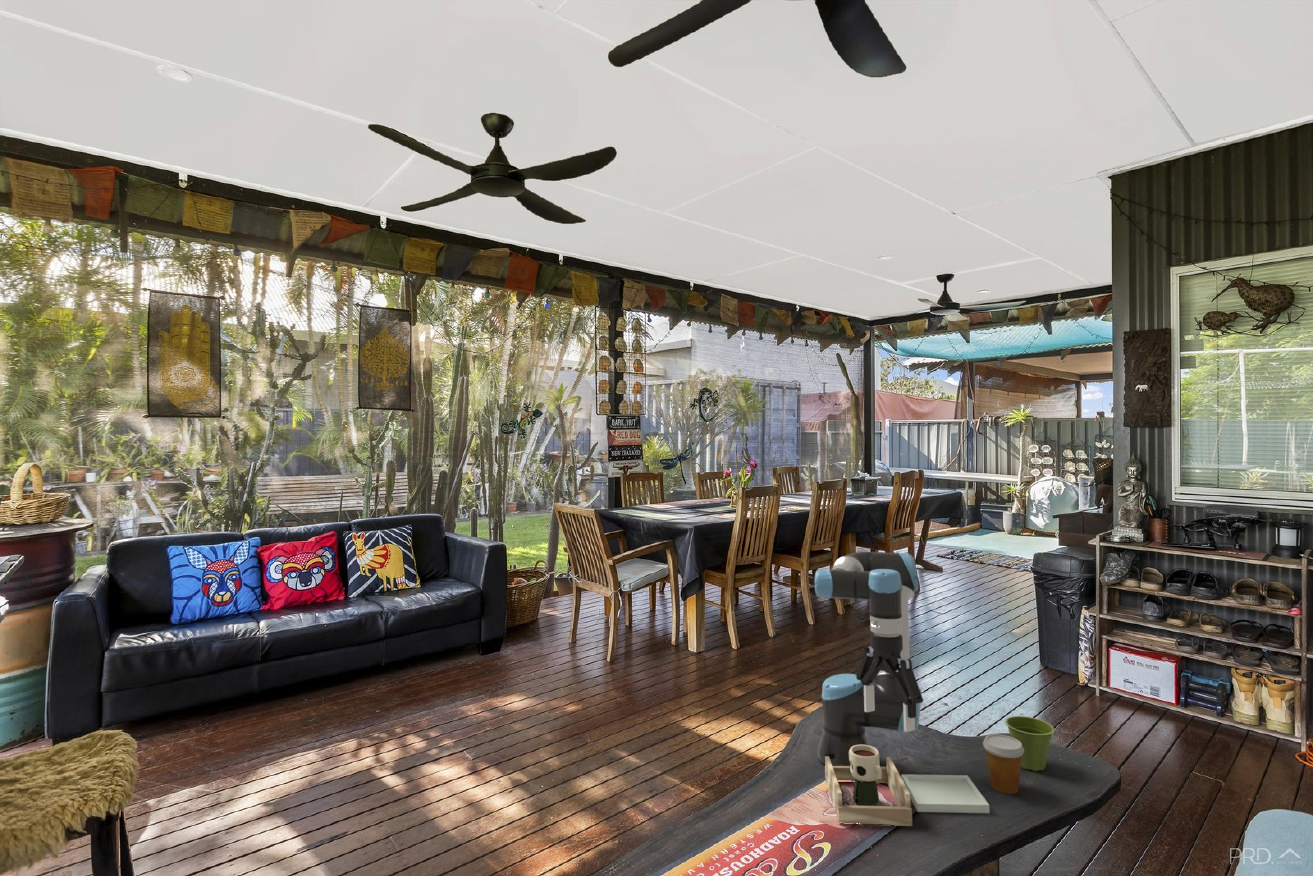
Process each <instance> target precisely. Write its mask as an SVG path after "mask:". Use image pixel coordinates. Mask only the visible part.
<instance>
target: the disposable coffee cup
mask: <svg viewBox="0 0 1313 876" xmlns="http://www.w3.org/2000/svg"><path fill="white" fill-rule="evenodd" d="M982 745H983V748H984V750H985V757H986V763H987V768H988V774H989V780H990V781H989V782H990V786H991V788H992V789H994V791H997V792H999V793H1003V794H1007V795H1013V794H1017V793H1018V792H1019V786H1020V777H1021V769H1022V767H1021V760H1022V755H1023V753H1024V748H1023V747H1022V744H1021V742H1020V741H1019V740H1017V739H1015V738H1013V737H1011V736H1009V735H1004V734H999V733H996V734H994V733H993V734H988V735H986V736H985V737H984V740H983V742H982Z"/></svg>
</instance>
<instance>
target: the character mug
mask: <svg viewBox="0 0 1313 876" xmlns="http://www.w3.org/2000/svg"><path fill="white" fill-rule="evenodd" d="M869 745H870V744H869ZM869 745H854V746H852V747H851V749H850V750H849V761H850V771H851V774H852V776H853V777H854V778H855V782H854V783H853V793H852V799H853V801H854V802H855V803H856V802H857V804H858V806H876V805H877V804H878V803H879V801H880V798H879V790H878V785H877V784H878V783H876V781H875V780H877V779H881V778H882V769H881V767H882V766H880V751H879V749H877V748H876V747H875V746H872V745H870V746H869ZM856 799H857V801H856Z"/></svg>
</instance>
